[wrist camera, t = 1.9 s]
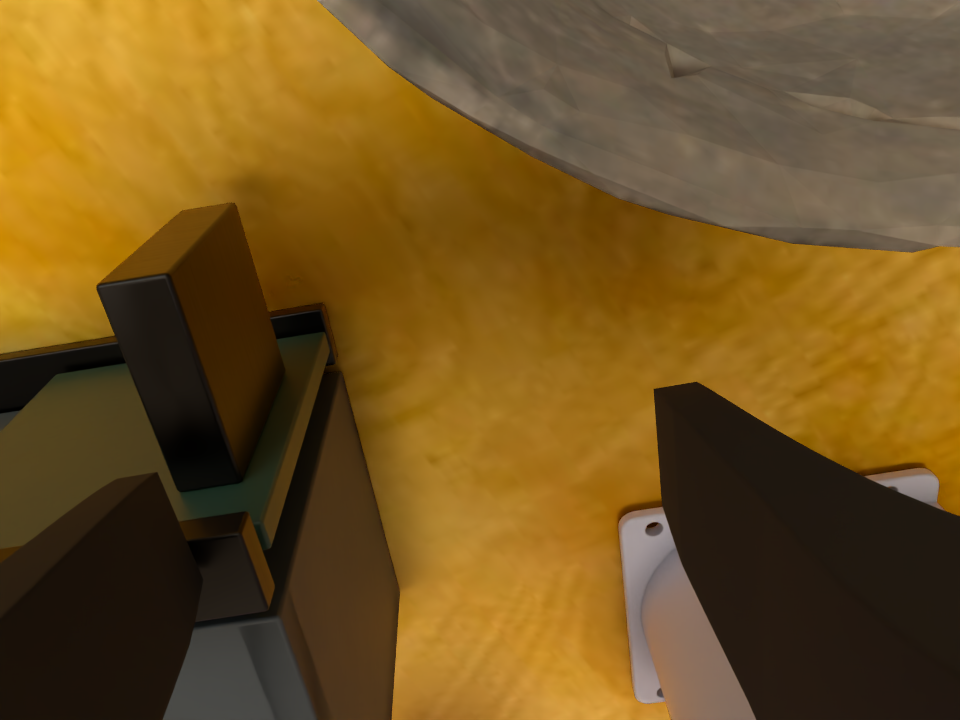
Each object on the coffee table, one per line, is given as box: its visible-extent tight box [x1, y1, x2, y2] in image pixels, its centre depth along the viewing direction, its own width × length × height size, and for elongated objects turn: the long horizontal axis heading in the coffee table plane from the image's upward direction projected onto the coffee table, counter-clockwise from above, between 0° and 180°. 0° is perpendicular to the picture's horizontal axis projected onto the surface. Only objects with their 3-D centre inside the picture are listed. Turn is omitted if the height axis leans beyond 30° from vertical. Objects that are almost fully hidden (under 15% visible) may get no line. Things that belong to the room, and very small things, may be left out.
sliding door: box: [0, 203, 330, 550], centre depth 15 cm, size 7×5×8 cm, turn 99°
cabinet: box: [0, 303, 400, 720], centre depth 18 cm, size 14×10×9 cm
